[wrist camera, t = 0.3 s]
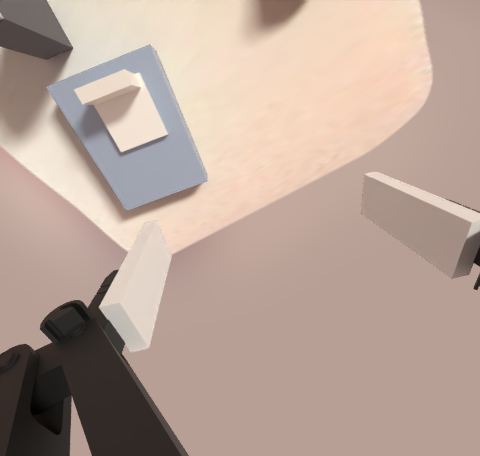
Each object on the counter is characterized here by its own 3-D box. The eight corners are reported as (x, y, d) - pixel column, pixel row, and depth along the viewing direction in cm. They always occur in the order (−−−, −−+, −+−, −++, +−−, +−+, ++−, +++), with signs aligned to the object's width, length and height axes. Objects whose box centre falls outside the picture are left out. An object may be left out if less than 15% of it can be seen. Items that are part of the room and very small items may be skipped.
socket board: (63, 89, 32) (45, 86, 28) (156, 51, 31) (149, 44, 27) (133, 201, 40) (126, 210, 37) (207, 174, 40) (207, 181, 36)
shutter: (89, 93, 29) (69, 91, 25) (140, 73, 29) (128, 67, 24) (123, 151, 33) (110, 157, 28) (168, 133, 32) (162, 138, 28)
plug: (15, 11, 28) (-104, -48, 17) (45, -2, 27) (-57, -69, 17) (45, 59, 30) (-43, 34, 20) (73, 48, 30) (-2, 16, 19)
